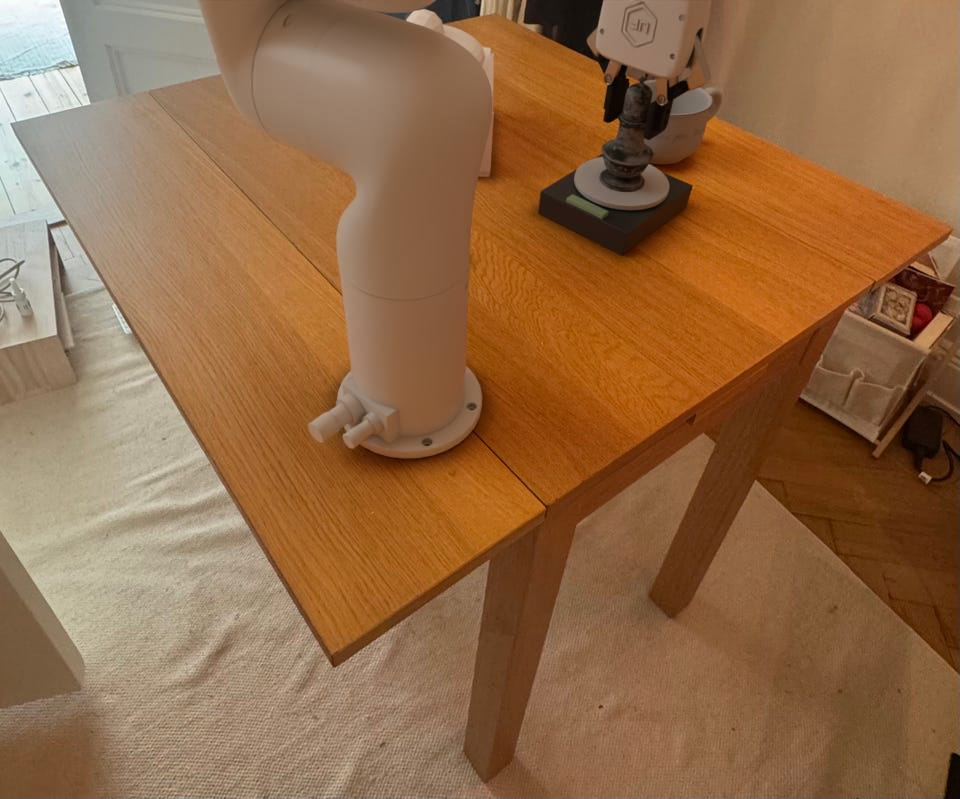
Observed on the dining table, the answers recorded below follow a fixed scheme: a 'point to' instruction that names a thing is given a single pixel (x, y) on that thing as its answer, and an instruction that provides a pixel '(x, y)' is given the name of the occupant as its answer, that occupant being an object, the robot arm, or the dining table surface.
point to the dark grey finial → (629, 143)
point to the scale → (613, 205)
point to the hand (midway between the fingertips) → (633, 125)
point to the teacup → (684, 124)
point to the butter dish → (475, 48)
